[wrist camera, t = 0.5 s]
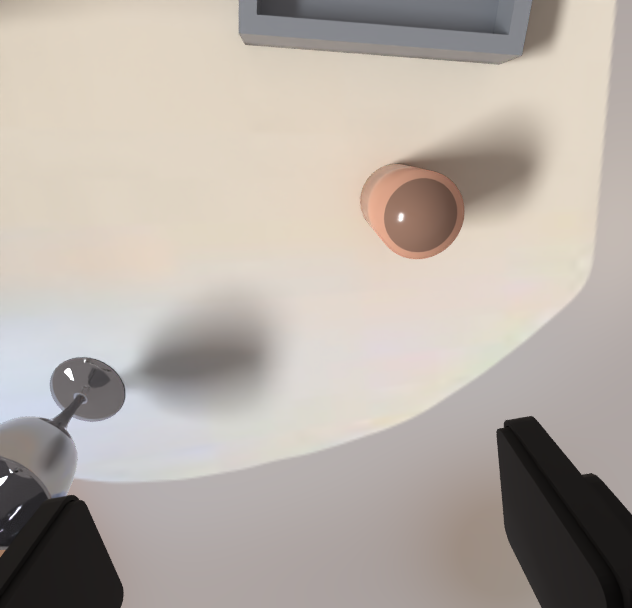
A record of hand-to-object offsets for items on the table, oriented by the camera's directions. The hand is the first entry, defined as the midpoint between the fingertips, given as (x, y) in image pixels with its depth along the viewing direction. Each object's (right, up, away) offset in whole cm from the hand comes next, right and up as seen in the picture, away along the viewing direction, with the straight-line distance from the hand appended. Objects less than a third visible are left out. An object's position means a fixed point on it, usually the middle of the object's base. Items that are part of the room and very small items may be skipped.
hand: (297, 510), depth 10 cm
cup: (+7, +14, +29) cm, 33 cm away
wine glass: (-22, -4, +35) cm, 41 cm away
